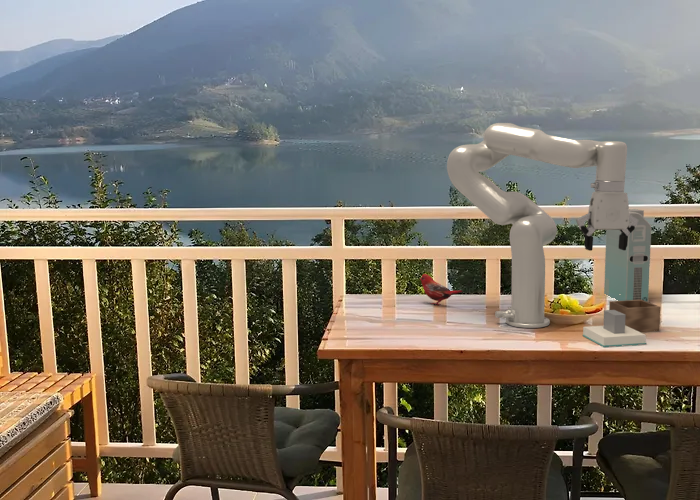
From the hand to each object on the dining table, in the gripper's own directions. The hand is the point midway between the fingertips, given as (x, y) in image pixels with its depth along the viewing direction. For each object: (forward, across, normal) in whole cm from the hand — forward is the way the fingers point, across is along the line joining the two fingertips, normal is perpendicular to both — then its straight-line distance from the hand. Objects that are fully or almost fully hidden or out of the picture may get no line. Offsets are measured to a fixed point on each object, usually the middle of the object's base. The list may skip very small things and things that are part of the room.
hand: (605, 249), depth 214 cm
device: (+24, +28, +41) cm, 56 cm away
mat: (+23, 0, -8) cm, 25 cm away
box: (+23, +12, +4) cm, 26 cm away
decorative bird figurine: (+26, -35, +43) cm, 61 cm away
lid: (+23, 0, -8) cm, 24 cm away
